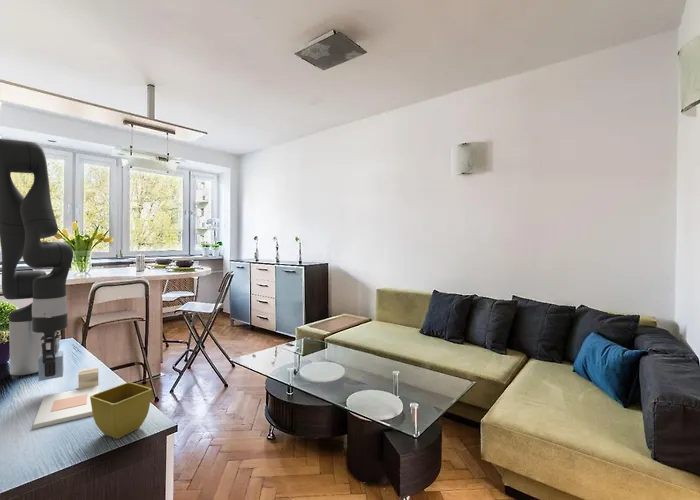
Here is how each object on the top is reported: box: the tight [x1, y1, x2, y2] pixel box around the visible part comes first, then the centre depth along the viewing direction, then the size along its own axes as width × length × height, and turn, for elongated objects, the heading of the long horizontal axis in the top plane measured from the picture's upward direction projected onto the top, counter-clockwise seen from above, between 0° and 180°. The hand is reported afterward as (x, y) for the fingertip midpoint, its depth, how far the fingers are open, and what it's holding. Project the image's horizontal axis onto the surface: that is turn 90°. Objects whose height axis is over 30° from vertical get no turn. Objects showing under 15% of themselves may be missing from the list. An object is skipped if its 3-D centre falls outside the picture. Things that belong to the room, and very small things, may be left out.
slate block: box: [37, 350, 65, 382], centre depth 97 cm, size 5×5×6 cm
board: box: [32, 385, 100, 430], centre depth 89 cm, size 18×12×1 cm, turn 36°
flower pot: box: [90, 381, 153, 440], centre depth 77 cm, size 9×9×9 cm
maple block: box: [78, 366, 99, 389], centre depth 101 cm, size 4×4×5 cm
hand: (51, 372), depth 97 cm, fingers closed on slate block, 5 cm apart
